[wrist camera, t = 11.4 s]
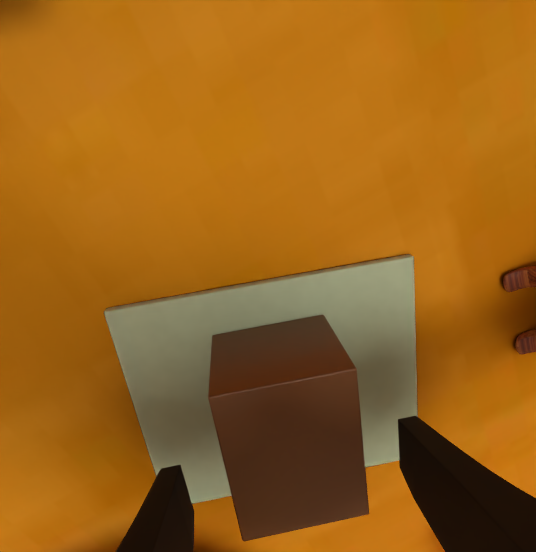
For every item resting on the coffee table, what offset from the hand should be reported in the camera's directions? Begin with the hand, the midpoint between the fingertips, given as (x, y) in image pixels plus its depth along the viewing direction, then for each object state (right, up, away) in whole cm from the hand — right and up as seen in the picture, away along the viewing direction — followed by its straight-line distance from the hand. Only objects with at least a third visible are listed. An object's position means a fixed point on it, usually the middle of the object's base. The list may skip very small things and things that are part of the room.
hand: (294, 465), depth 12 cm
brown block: (0, +1, +4) cm, 4 cm away
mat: (0, +1, +4) cm, 4 cm away
